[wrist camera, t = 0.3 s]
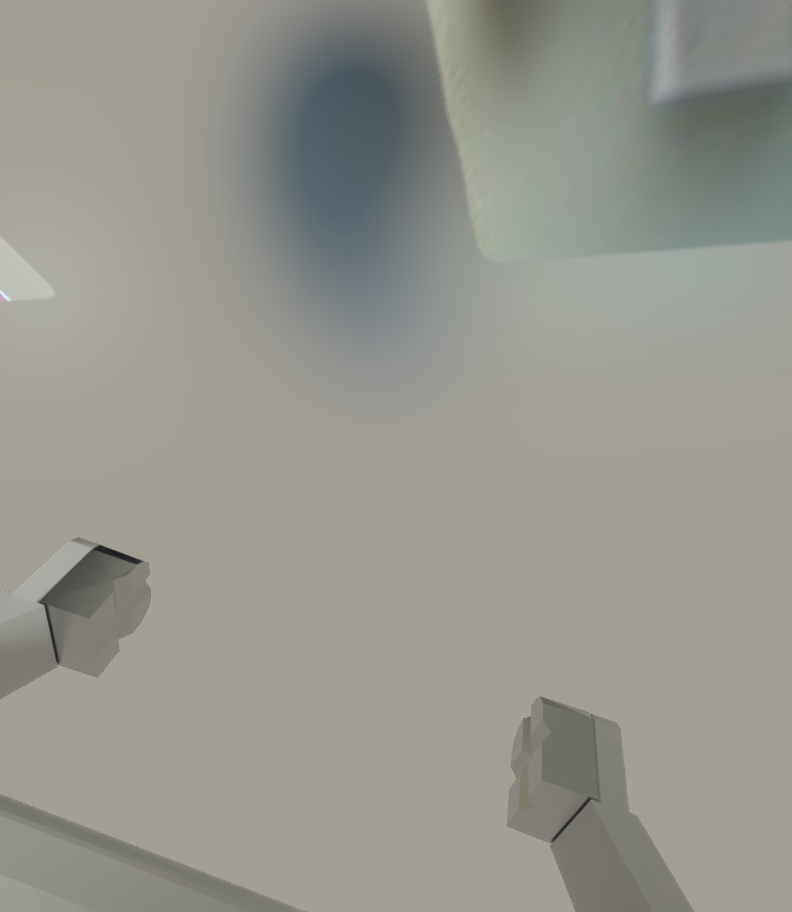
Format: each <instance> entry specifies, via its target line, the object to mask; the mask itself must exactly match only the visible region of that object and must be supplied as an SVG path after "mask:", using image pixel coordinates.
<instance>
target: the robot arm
mask: <svg viewBox="0 0 792 912" xmlns="http://www.w3.org/2000/svg"><path fill="white" fill-rule="evenodd" d="M149 574H150V570H149V563H148V562H145V561H142V560H140V559H137V558H134V557H132V556H129V555H126V554H124V553H121V552H118V551H115V550H113V549H110V548H107V547H104V546H102V545H99V544H97V543H93V542H91V541H88V540H85V539H82V538H79V537H77V538H75V539H72V540H71V541H68V542H67V543H66V544H65V545H64V546H63V547H62V548H61V549H60V550H59V551H57V552H56V553H55V554H54V555H53V556H52V557H51V558H50V559H49V560H48V561H47V562H46V563H45V564H44V565H42V566H41V567H40V568H39V569H38V570H37V571H36V572H35V573H34V574H32V575H31V576H30V577H29V578H28V579H27V580H26V581H25V582H24V583H23V584H22V585H21V586H20V587H18V588H17V589H16V590H15V591H14V592H13V593H10V592H7V591H4V592H1V593H0V699H1V698H3V697H5V696H7V695H8V694H10V693H12V692H14V691H15V690H17V689H19V688H21V687H23V686H24V685H26V684H28V683H30V682H32V681H33V680H35V679H37V678H39V677H40V676H42V675H44V674H46V673H48V672H49V671H51V670H53V669H55V668H57V664H58V665H61V666H64V667H67V668H70V669H73V670H76V671H79V672H82V673H85V674H88V675H91V676H94V677H97V678H98V677H99V676H100V674H101V673H102V672H103V671H104V669H105V668H106V667H107V665H108V664H109V663H110V662H111V660H112V659H113V658H114V656H115V655H116V654H117V653H118V652H119V639H120V638H122V637H124V636H127V635H129V634H131V633H133V632H134V631H135V630H136V628H137V627H138V626H139V624H140V623H141V622H142V620H143V618H144V616H145V614H146V612H147V610H148V607H149V603H150V599H151V589H150V587H149V586H148V585H147V583H146V582H145V579H146V578H147V577H148V575H149ZM511 759H512V760H511V768H512V770H513V772H514V774H515V776H516V778H517V779H516V780H515V782H514V784H513V785H512V786H511V788H510V790H509V802H508V817H507V826H508V827H510V828H513V829H515V830H518V831H521V832H523V833H526V834H528V835H531V836H533V837H536V838H538V839H541V840H543V841H546V842H548V843H551V845H550V847H551V850H552V852H553V855H554V857H555V860H556V862H557V865H558V868H559V870H560V873H561V875H562V878H563V880H564V883H565V886H566V888H567V890H568V893H569V895H570V898H571V901H572V903H573V906H574V909H575V911H576V912H694V910H693V909H692V907H691V905H690V904H689V902H688V900H687V899H686V897H685V895H684V893H683V892H682V890H681V888H680V887H679V885H678V883H677V882H676V880H675V878H674V877H673V875H672V873H671V872H670V870H669V868H668V867H667V865H666V863H665V862H664V860H663V858H662V857H661V855H660V853H659V851H658V850H657V848H656V846H655V845H654V843H653V841H652V840H651V838H650V836H649V835H648V833H647V831H646V830H645V828H644V826H643V825H642V823H641V822H640V820H639V818H638V816H636V815H634V814H632V813H629V806H628V796H627V786H626V777H625V767H624V758H623V748H622V739H621V729H620V727H619V725H618V724H617V723H616V722H614V721H611V720H608V719H605V718H602V717H598V716H596V715H593V714H589V712H586V711H583V710H580V709H577V708H574V707H571V706H568V705H565V704H562V703H559V702H556V701H553V700H549V699H546V698H543V697H539V698H537V699H536V700H535V702H534V703H533V704H532V707H531V716H530V717H527V718H524V719H523V721H522V723H521V724H520V726H519V728H518V731H517V734H516V737H515V740H514V744H513V750H512V758H511ZM0 912H306V911H303V910H301V909H298V908H295V907H293V906H290V905H288V904H285V903H283V902H280V901H277V900H275V899H272V898H270V897H267V896H264V895H262V894H259V893H257V892H254V891H251V890H249V889H246V888H244V887H241V886H238V885H236V884H233V883H230V882H228V881H225V880H223V879H220V878H218V877H215V876H212V875H210V874H207V873H205V872H202V871H200V870H197V869H194V868H192V867H189V866H187V865H184V864H181V863H179V862H176V861H174V860H171V859H168V858H166V857H163V856H161V855H158V854H155V853H153V852H150V851H148V850H145V849H142V848H140V847H137V846H134V845H132V844H129V843H127V842H124V841H122V840H119V839H116V838H114V837H111V836H109V835H106V834H103V833H101V832H98V831H95V830H93V829H90V828H88V827H85V826H83V825H80V824H77V823H75V822H72V821H69V820H67V819H64V818H61V817H59V816H56V815H53V814H51V813H49V812H46V811H43V810H41V809H38V808H36V807H33V806H30V805H28V804H25V803H23V802H20V801H17V800H15V799H12V798H9V797H7V796H4V795H2V794H0Z"/></svg>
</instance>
